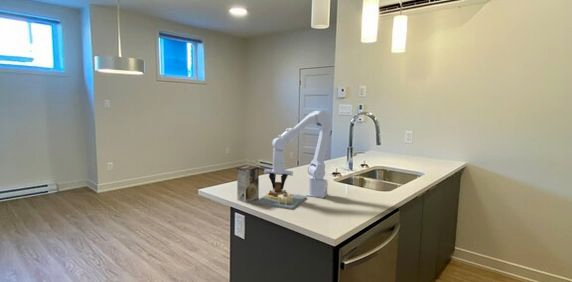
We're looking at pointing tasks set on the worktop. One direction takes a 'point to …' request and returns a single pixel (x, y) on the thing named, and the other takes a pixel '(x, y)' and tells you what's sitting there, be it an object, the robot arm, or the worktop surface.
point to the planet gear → (277, 189)
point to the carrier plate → (275, 203)
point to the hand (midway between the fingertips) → (278, 188)
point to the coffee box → (247, 183)
